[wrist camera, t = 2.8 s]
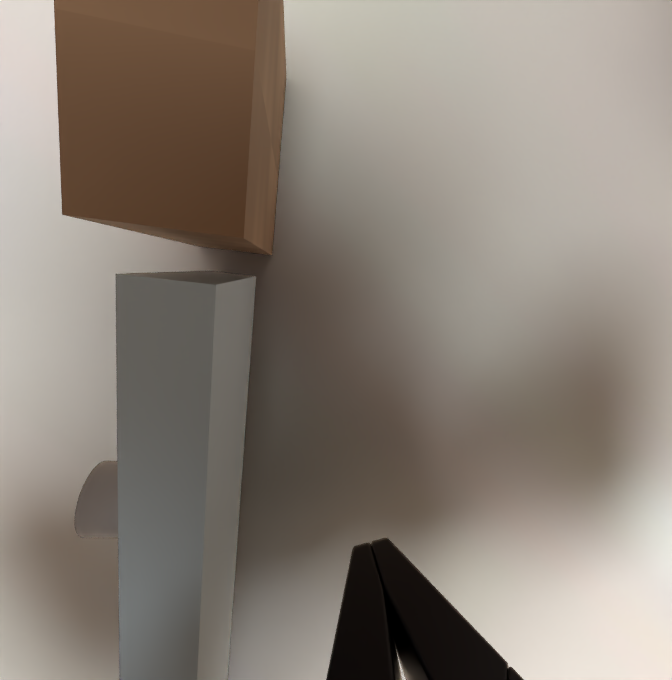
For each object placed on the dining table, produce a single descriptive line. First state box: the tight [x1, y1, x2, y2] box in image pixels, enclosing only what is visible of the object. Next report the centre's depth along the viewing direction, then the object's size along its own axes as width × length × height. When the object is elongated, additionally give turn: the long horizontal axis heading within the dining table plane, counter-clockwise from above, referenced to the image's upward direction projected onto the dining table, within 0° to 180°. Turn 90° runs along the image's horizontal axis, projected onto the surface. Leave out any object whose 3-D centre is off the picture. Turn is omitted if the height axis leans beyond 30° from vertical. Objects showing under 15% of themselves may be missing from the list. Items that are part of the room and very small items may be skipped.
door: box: [75, 271, 256, 680], centre depth 7 cm, size 13×2×4 cm, turn 173°
